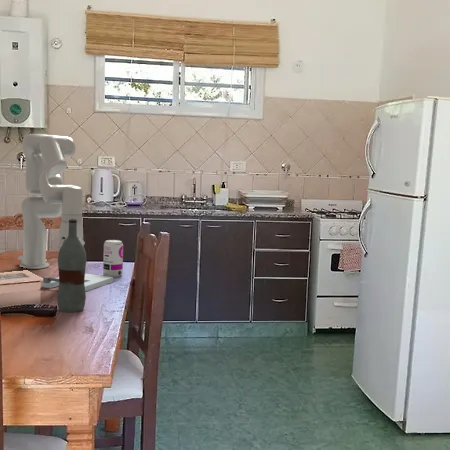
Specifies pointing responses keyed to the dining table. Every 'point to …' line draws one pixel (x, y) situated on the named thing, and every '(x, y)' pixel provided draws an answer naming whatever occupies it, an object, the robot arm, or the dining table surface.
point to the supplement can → (113, 258)
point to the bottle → (71, 272)
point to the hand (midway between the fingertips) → (71, 264)
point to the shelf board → (89, 281)
